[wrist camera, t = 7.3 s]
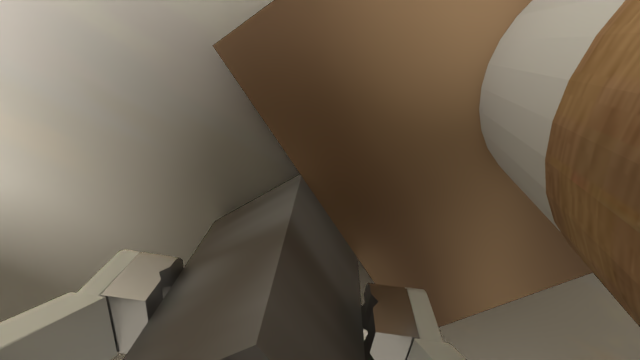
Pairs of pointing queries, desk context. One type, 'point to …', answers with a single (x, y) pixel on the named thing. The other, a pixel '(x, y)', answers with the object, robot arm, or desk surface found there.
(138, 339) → the walnut strip
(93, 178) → the desk surface
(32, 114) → the desk surface
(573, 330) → the desk surface
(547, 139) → the coffee cup
